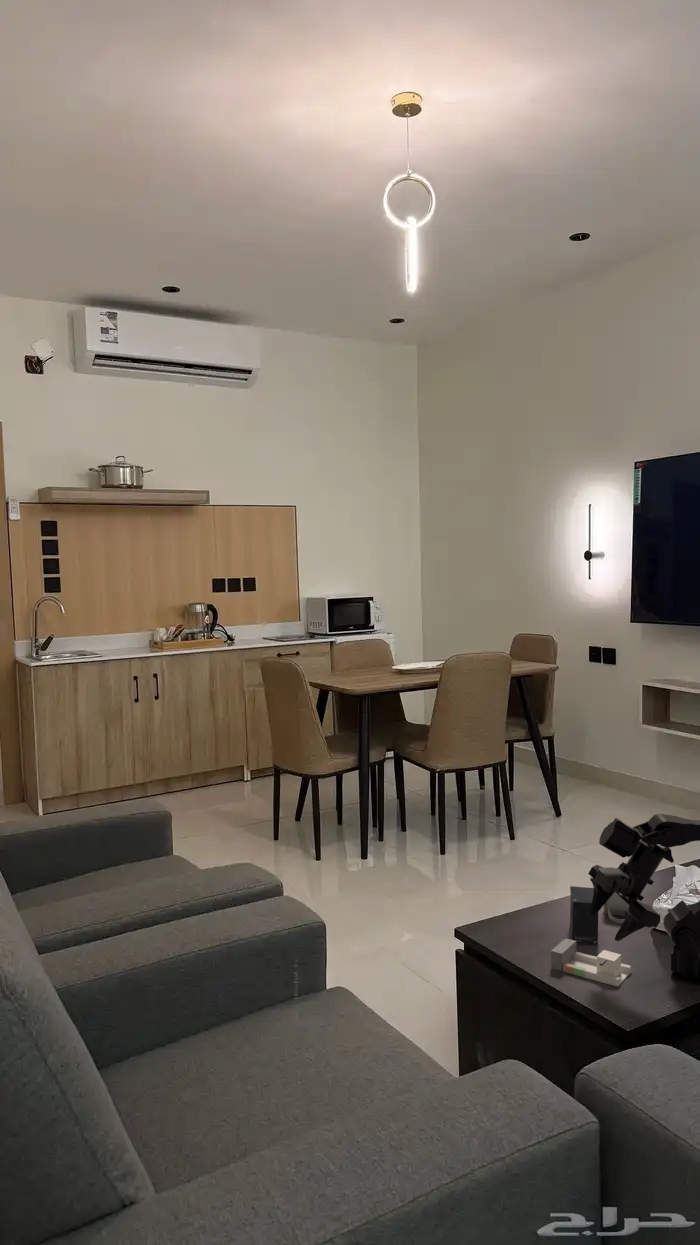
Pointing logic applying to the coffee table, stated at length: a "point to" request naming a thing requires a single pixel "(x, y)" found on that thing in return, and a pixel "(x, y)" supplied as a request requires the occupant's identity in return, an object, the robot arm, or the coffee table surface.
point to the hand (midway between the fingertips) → (603, 927)
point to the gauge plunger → (609, 963)
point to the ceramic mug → (616, 907)
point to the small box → (583, 916)
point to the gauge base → (583, 964)
